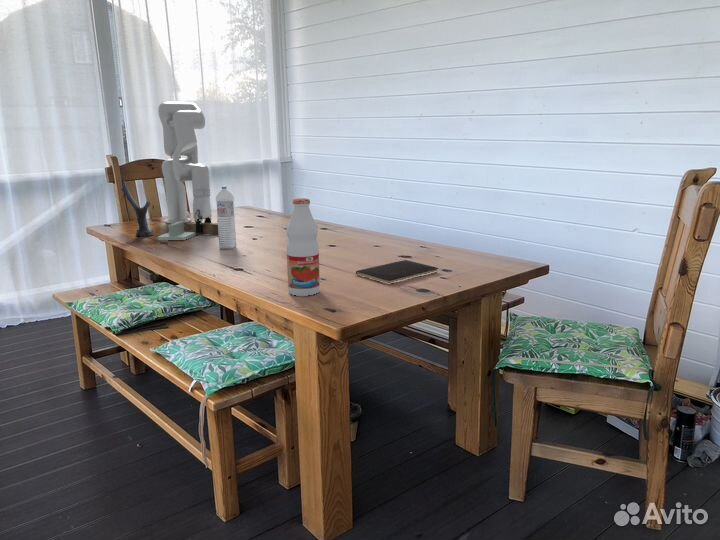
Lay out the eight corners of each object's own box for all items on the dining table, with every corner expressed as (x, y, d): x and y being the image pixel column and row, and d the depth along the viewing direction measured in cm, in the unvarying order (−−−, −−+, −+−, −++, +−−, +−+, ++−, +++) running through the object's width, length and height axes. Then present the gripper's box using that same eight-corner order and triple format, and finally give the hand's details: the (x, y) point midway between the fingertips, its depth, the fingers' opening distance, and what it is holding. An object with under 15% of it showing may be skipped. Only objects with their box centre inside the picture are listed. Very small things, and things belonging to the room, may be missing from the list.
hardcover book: (438, 274, 196) (438, 267, 195) (388, 287, 181) (388, 280, 181) (404, 265, 208) (404, 259, 207) (355, 277, 193) (355, 270, 192)
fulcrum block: (170, 234, 263) (169, 220, 261) (195, 235, 261) (194, 221, 259) (157, 240, 251) (156, 225, 249) (184, 240, 249) (183, 225, 248)
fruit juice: (313, 286, 180) (311, 196, 173) (324, 294, 172) (322, 200, 165) (284, 290, 176) (280, 198, 169) (293, 298, 168) (290, 202, 161)
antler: (151, 233, 266) (146, 178, 260) (156, 236, 260) (151, 180, 254) (125, 236, 260) (119, 180, 254) (129, 239, 254) (123, 181, 247)
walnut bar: (186, 234, 265) (185, 223, 264) (190, 232, 269) (189, 222, 268) (219, 235, 262) (218, 224, 261) (222, 233, 266) (222, 223, 265)
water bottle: (215, 248, 235) (211, 186, 228) (230, 245, 239) (226, 184, 233) (225, 250, 230) (221, 187, 224) (239, 248, 235) (236, 186, 229)
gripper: (201, 190, 270) (203, 227, 274) (185, 195, 253) (188, 234, 257) (216, 191, 269) (219, 227, 273) (201, 195, 252) (204, 234, 256)
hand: (204, 230), depth 265 cm, fingers open, 9 cm apart
